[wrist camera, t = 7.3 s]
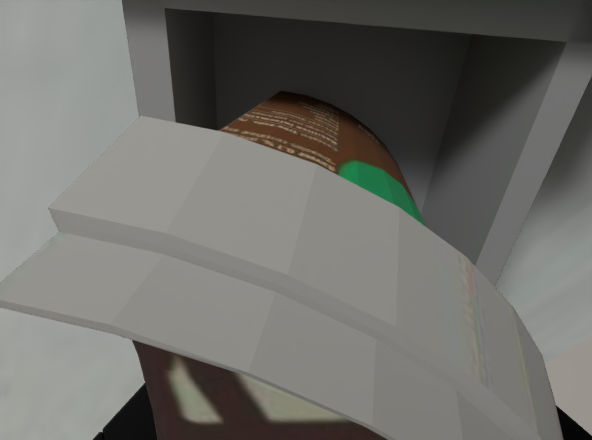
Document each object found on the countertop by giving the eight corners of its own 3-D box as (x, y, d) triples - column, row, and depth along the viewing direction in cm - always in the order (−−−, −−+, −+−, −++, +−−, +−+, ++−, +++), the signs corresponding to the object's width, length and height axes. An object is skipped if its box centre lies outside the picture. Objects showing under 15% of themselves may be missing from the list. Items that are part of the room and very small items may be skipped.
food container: (400, 344, 16) (444, 707, 8) (271, 323, 17) (186, 641, 9) (503, 57, 10) (1432, 456, 1) (282, 37, 10) (-61, 225, 2)
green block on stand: (643, -297, 8) (1275, -868, 3) (418, 337, 18) (466, 463, 13) (112, -358, 8) (-283, -1154, 2) (188, 324, 18) (143, 448, 13)
